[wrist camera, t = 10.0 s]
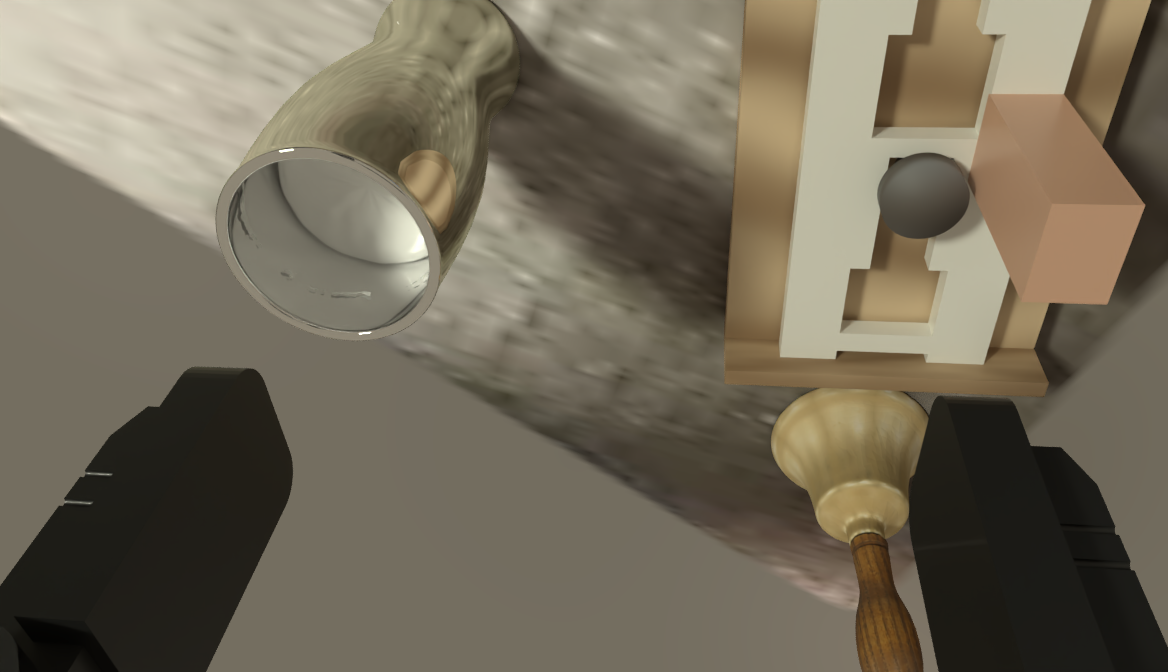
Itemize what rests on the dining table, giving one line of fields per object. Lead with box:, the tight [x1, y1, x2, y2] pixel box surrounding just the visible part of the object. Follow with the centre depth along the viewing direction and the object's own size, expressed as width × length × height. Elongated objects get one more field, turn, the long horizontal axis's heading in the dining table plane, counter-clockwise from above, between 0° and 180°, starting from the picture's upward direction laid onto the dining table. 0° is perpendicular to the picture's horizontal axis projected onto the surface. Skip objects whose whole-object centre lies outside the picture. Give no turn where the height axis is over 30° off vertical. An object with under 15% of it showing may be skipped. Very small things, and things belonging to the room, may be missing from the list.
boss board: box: [724, 0, 1151, 397], centre depth 33 cm, size 28×14×4 cm, turn 3°
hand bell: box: [771, 388, 929, 672], centre depth 42 cm, size 8×8×16 cm
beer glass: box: [216, 0, 520, 341], centre depth 32 cm, size 7×7×15 cm
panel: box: [779, 0, 1145, 365], centre depth 32 cm, size 21×9×9 cm, turn 3°
